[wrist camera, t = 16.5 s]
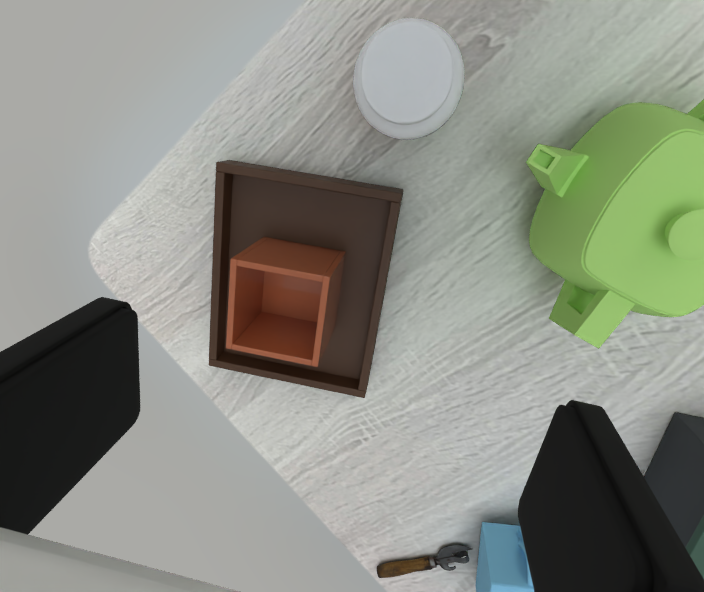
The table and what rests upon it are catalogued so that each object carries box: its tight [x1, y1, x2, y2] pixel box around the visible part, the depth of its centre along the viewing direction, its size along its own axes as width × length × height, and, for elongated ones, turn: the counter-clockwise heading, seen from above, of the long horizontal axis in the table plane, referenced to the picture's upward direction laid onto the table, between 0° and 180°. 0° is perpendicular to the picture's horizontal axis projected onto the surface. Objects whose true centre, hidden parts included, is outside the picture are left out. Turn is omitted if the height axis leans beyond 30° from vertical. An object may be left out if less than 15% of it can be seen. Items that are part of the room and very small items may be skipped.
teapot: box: [526, 100, 704, 348], centre depth 24 cm, size 12×12×10 cm
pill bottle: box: [353, 18, 465, 140], centre depth 24 cm, size 5×5×10 cm
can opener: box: [377, 545, 472, 578], centre depth 41 cm, size 9×2×1 cm, turn 117°
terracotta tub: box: [226, 237, 346, 367], centre depth 30 cm, size 6×6×6 cm
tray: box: [209, 160, 403, 398], centre depth 33 cm, size 15×12×2 cm
